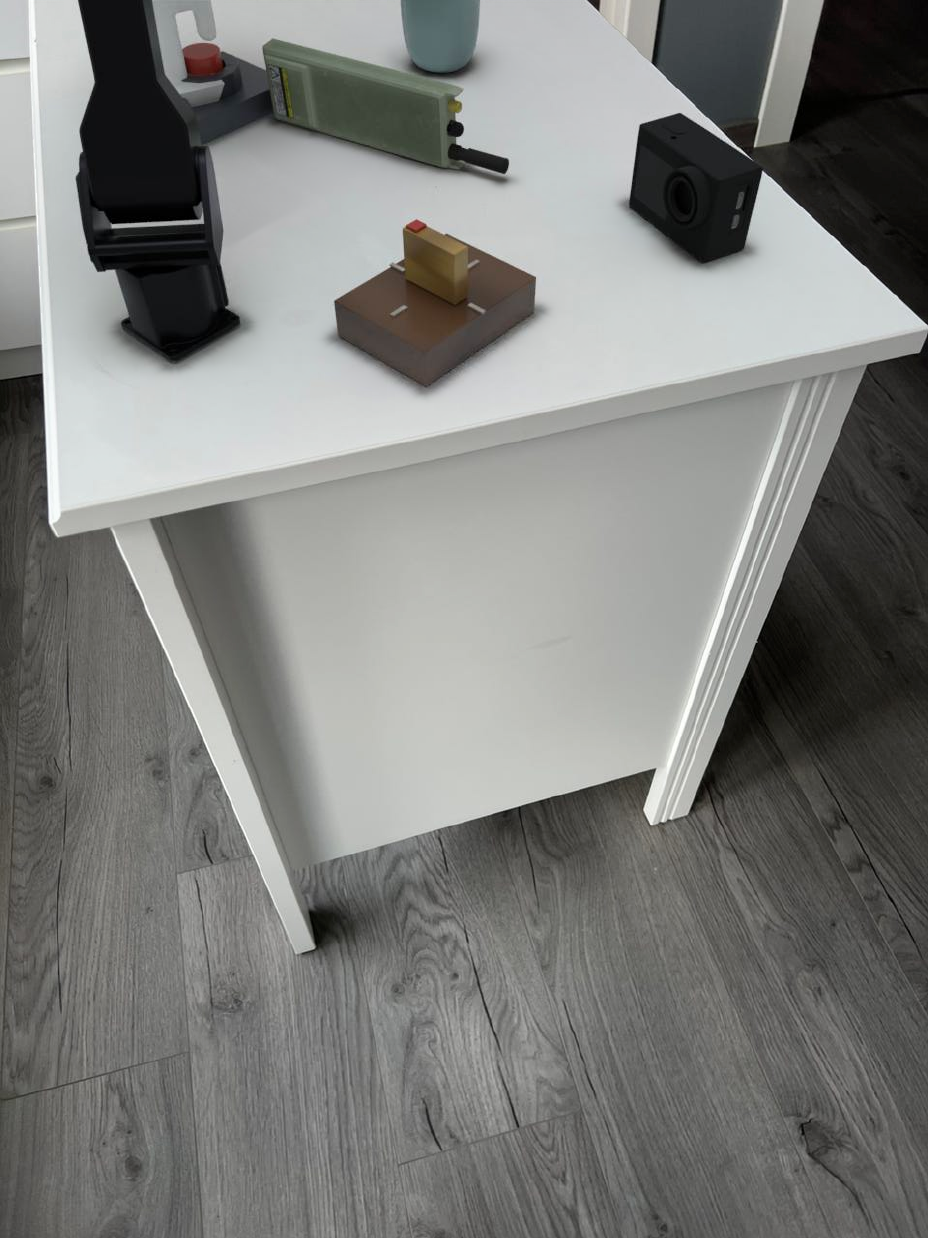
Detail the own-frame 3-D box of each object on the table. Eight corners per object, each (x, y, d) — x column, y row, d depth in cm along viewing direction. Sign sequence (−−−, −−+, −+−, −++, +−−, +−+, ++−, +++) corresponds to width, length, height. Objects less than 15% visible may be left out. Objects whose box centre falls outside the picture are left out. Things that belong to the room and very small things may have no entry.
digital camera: (615, 208, 85) (625, 125, 79) (667, 192, 87) (680, 109, 81) (690, 268, 79) (706, 183, 74) (744, 249, 81) (763, 165, 75)
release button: (201, 82, 92) (197, 62, 91) (176, 70, 94) (172, 50, 92) (231, 69, 94) (227, 49, 93) (207, 58, 95) (203, 38, 94)
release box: (195, 148, 92) (185, 103, 89) (129, 114, 96) (118, 71, 93) (292, 103, 97) (286, 59, 94) (226, 73, 101) (219, 30, 98)
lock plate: (427, 387, 70) (425, 350, 68) (336, 335, 74) (332, 297, 71) (535, 312, 76) (537, 275, 73) (446, 267, 79) (445, 230, 77)
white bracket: (243, 120, 95) (211, -63, 83) (146, 144, 92) (99, -42, 80) (216, 91, 99) (181, -88, 87) (122, 113, 96) (74, -69, 84)
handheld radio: (290, 107, 97) (516, 171, 89) (269, 122, 95) (498, 189, 87) (278, 33, 91) (517, 95, 83) (256, 48, 90) (498, 112, 82)
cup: (471, 84, 100) (471, -29, 92) (395, 77, 101) (389, -35, 93) (485, 51, 104) (487, -59, 97) (413, 45, 105) (409, -64, 98)
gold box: (468, 297, 72) (468, 243, 68) (454, 305, 71) (454, 251, 68) (418, 270, 74) (416, 216, 70) (404, 278, 73) (402, 224, 70)
